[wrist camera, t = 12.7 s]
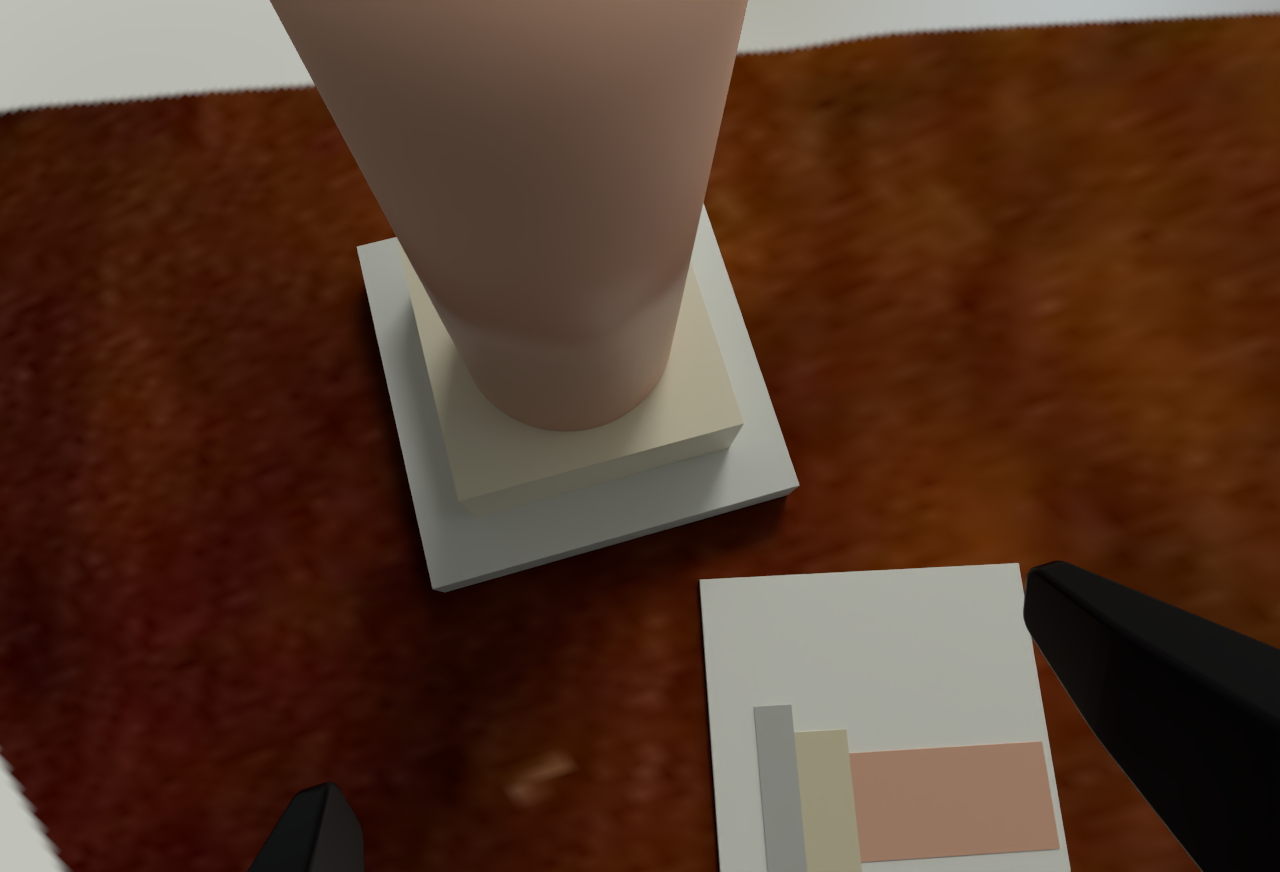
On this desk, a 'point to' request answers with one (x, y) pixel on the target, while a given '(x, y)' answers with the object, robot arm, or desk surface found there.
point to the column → (536, 174)
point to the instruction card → (878, 724)
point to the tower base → (583, 511)
